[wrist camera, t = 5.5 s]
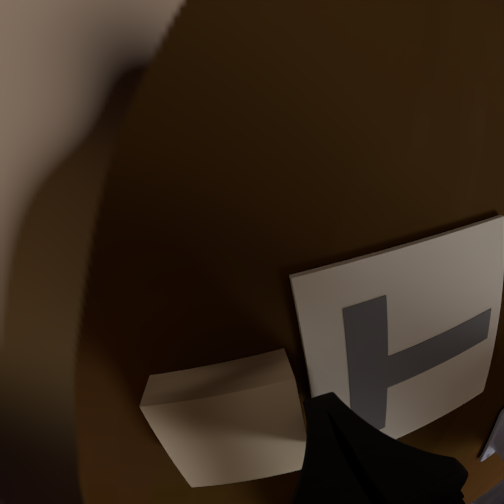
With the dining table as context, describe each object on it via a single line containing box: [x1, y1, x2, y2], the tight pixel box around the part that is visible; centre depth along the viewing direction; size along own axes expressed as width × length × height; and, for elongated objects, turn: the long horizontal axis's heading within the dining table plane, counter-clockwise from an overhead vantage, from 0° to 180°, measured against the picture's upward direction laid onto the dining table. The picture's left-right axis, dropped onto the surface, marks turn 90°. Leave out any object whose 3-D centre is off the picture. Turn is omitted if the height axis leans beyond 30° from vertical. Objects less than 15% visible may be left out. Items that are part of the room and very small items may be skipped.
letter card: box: [289, 215, 504, 439], centre depth 13 cm, size 12×12×1 cm
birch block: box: [139, 348, 307, 487], centre depth 12 cm, size 6×6×2 cm
